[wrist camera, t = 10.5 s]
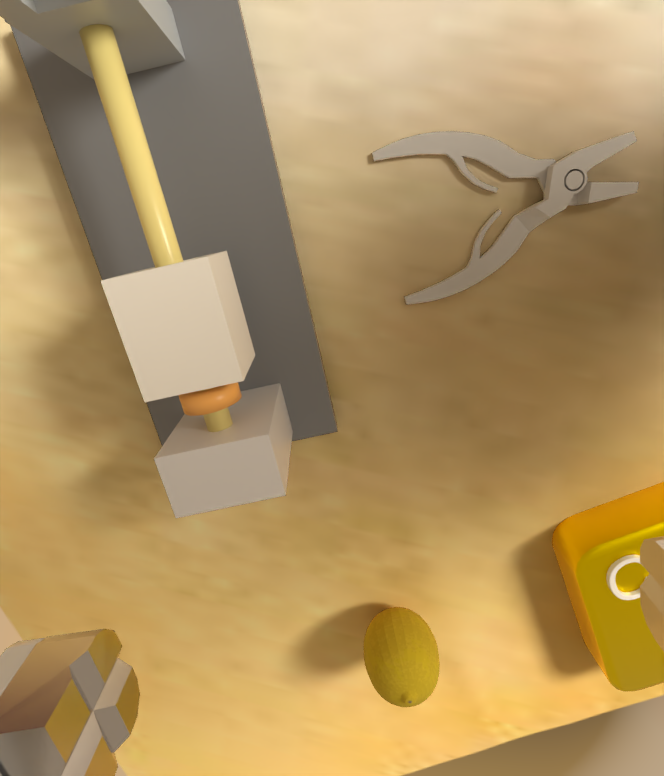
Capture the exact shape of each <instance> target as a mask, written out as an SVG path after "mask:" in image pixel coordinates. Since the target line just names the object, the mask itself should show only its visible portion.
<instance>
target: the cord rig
mask: <svg viewBox="0 0 664 776" xmlns="http://www.w3.org/2000/svg"><path fill="white" fill-rule="evenodd" d="M0 16H1V17H2V18H4V19H5V22H6V23H8V24H10V26H11V28H12V31H13V34H14V37H15V39H16V42H17V45H18V48H19V51H20V53H21V56H22V59H23V62H24V64H25V67H26V70H27V73H28V75H29V78H30V81H31V84H32V87H33V89H34V92H35V95H36V98H37V100H38V103H39V106H40V109H41V112H42V114H43V117H44V120H45V123H46V125H47V128H48V131H49V134H50V136H51V139H52V142H53V145H54V148H55V150H56V153H57V156H58V159H59V161H60V164H61V167H62V170H63V172H64V175H65V178H66V181H67V184H68V186H69V189H70V192H71V195H72V197H73V200H74V203H75V206H76V209H77V211H78V214H79V217H80V220H81V222H82V225H83V228H84V231H85V233H86V236H87V239H88V242H89V245H90V247H91V250H92V253H93V256H94V258H95V261H96V264H97V267H98V269H99V272H100V275H101V278H102V280H105V279H109V278H113V277H116V276H120V275H124V274H128V273H132V272H135V271H139V270H144V269H148V268H152V267H155V268H157V267H161V266H166V265H170V264H175V263H179V262H183V260H188V259H192V258H196V257H201V256H205V255H210V254H214V253H218V252H223V251H227V254H228V257H229V261H230V264H231V268H232V272H233V275H234V279H235V283H236V286H237V290H238V294H239V297H240V301H241V304H242V308H243V312H244V315H245V319H246V323H247V326H248V330H249V334H250V337H251V341H252V344H253V348H254V352H255V357H254V359H253V361H252V364H251V366H250V368H249V370H248V372H247V374H246V377H245V379H244V381H241V382H237V383H232V384H227V385H223V386H218V387H213V388H209V389H204V390H200V391H195V392H190V393H186V394H181V395H177V396H172V397H167V398H163V399H158V400H154V401H149V402H146V403H147V405H148V408H149V411H150V414H151V416H152V419H153V422H154V425H155V427H156V430H157V433H158V436H159V439H160V441H161V444H162V447H161V449H160V450H159V452H158V453H157V455H156V456H155V458H154V461H155V463H156V466H157V469H158V472H159V474H160V477H161V480H162V482H163V485H164V488H165V490H166V493H167V496H168V499H169V501H170V504H171V507H172V509H173V512H174V515H175V517H176V518H180V517H185V516H190V515H194V514H199V513H204V512H209V511H214V510H218V509H223V508H228V507H233V506H238V505H243V504H247V503H252V502H257V501H262V500H267V499H271V498H276V497H281V496H286V490H287V481H288V472H289V462H290V453H291V444H292V441H296V440H300V439H305V438H310V437H314V436H319V435H324V434H329V433H333V432H338V431H337V424H336V419H335V415H334V411H333V406H332V402H331V398H330V393H329V389H328V385H327V380H326V376H325V372H324V367H323V363H322V359H321V354H320V350H319V346H318V341H317V337H316V333H315V328H314V324H313V320H312V315H311V311H310V307H309V302H308V298H307V294H306V289H305V285H304V281H303V276H302V272H301V268H300V263H299V259H298V255H297V250H296V246H295V242H294V237H293V233H292V229H291V224H290V220H289V216H288V211H287V207H286V203H285V198H284V194H283V190H282V185H281V181H280V177H279V172H278V168H277V164H276V159H275V155H274V151H273V146H272V142H271V138H270V133H269V129H268V125H267V120H266V116H265V111H264V107H263V103H262V98H261V94H260V90H259V85H258V81H257V77H256V72H255V68H254V64H253V59H252V55H251V51H250V46H249V42H248V38H247V33H246V29H245V25H244V20H243V16H242V12H241V7H240V3H239V0H0Z"/></svg>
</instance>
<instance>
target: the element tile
mask: <svg viewBox="0 0 664 776" xmlns="http://www.w3.org/2000/svg"><path fill="white" fill-rule="evenodd" d="M662 536H664V482H662V483H659V484H657V485H654V486H651V487H649V488H646V489H643V490H640V491H638V492H635V493H632V494H629V495H627V496H624V497H621V498H619V499H616V500H613V501H610V502H608V503H605V504H602V505H599V506H597V507H594V508H591V509H588V510H586V511H583V512H580V513H578V514H575V515H572V516H571V517H569V518H567V519H565V520H564V521H562V522H561V523H560V524H559V525H558V526H557V527H556V529H555V531H554V532H553V538H552V546H553V549H554V552H555V555H556V558H557V561H558V564H559V567H560V570H561V573H562V576H563V579H564V582H565V585H566V588H567V591H568V594H569V597H570V600H571V603H572V606H573V609H574V612H575V616H576V619H577V622H578V625H579V628H580V631H581V634H582V637H583V640H584V643H585V644H586V646H587V648H588V649H589V651H590V652H591V654H592V655H593V657H594V659H595V660H596V662H597V663H598V665H599V666H600V668H601V670H602V671H603V673H604V674H605V676H606V677H607V679H608V680H609V682H610V683H611V684H612V685H613V686H614V687H615V688H616V689H618V690H622V691H637V690H641V689H645V688H648V687H651V686H654V685H657V684H660V683H663V682H664V651H663V650H662V649H661V647H660V646H659V644H658V643H657V642H656V640H655V639H654V637H653V635H652V633H651V631H650V629H649V628H648V626H647V624H646V620H645V617H644V614H643V611H642V608H641V603H640V586H641V584H642V583H643V582H644V580H645V579H646V578H647V577H648V575H649V574H650V573H649V572H648V571H647V570H646V569H645V567H644V566H643V565H642V564H641V563H640V547H641V545H642V543H643V541H644V539H650V538H656V537H662Z"/></svg>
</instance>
